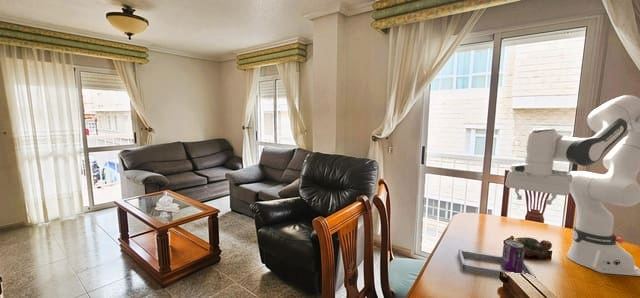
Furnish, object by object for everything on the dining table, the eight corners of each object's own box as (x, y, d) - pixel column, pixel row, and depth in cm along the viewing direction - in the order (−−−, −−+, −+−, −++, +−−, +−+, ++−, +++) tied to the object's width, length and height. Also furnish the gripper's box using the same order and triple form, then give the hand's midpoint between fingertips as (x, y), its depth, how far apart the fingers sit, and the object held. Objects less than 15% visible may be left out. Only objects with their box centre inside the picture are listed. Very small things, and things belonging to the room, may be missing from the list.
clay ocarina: (556, 262, 117) (557, 245, 116) (515, 259, 122) (516, 243, 120) (545, 250, 126) (546, 234, 125) (507, 248, 131) (508, 232, 129)
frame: (523, 265, 115) (523, 259, 115) (535, 283, 103) (536, 277, 103) (458, 254, 124) (458, 249, 123) (462, 270, 112) (462, 264, 111)
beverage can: (523, 278, 106) (526, 249, 105) (501, 272, 110) (504, 244, 108) (521, 269, 112) (524, 242, 111) (500, 264, 116) (503, 237, 114)
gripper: (571, 170, 104) (566, 205, 106) (507, 164, 116) (504, 195, 118) (574, 173, 99) (569, 209, 101) (507, 166, 111) (503, 198, 113)
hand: (533, 201), depth 109 cm, fingers open, 8 cm apart
